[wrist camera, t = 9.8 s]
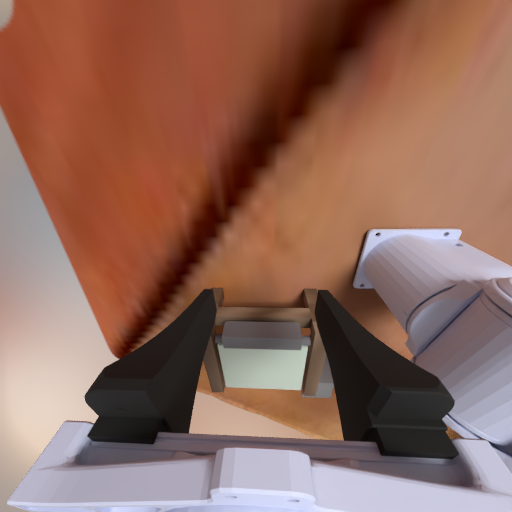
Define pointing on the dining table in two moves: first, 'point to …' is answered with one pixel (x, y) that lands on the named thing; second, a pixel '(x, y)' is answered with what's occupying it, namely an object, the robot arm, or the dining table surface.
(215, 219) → the dining table surface
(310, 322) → the frame
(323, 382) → the grey cube
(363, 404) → the robot arm
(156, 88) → the dining table surface
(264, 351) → the trapdoor
